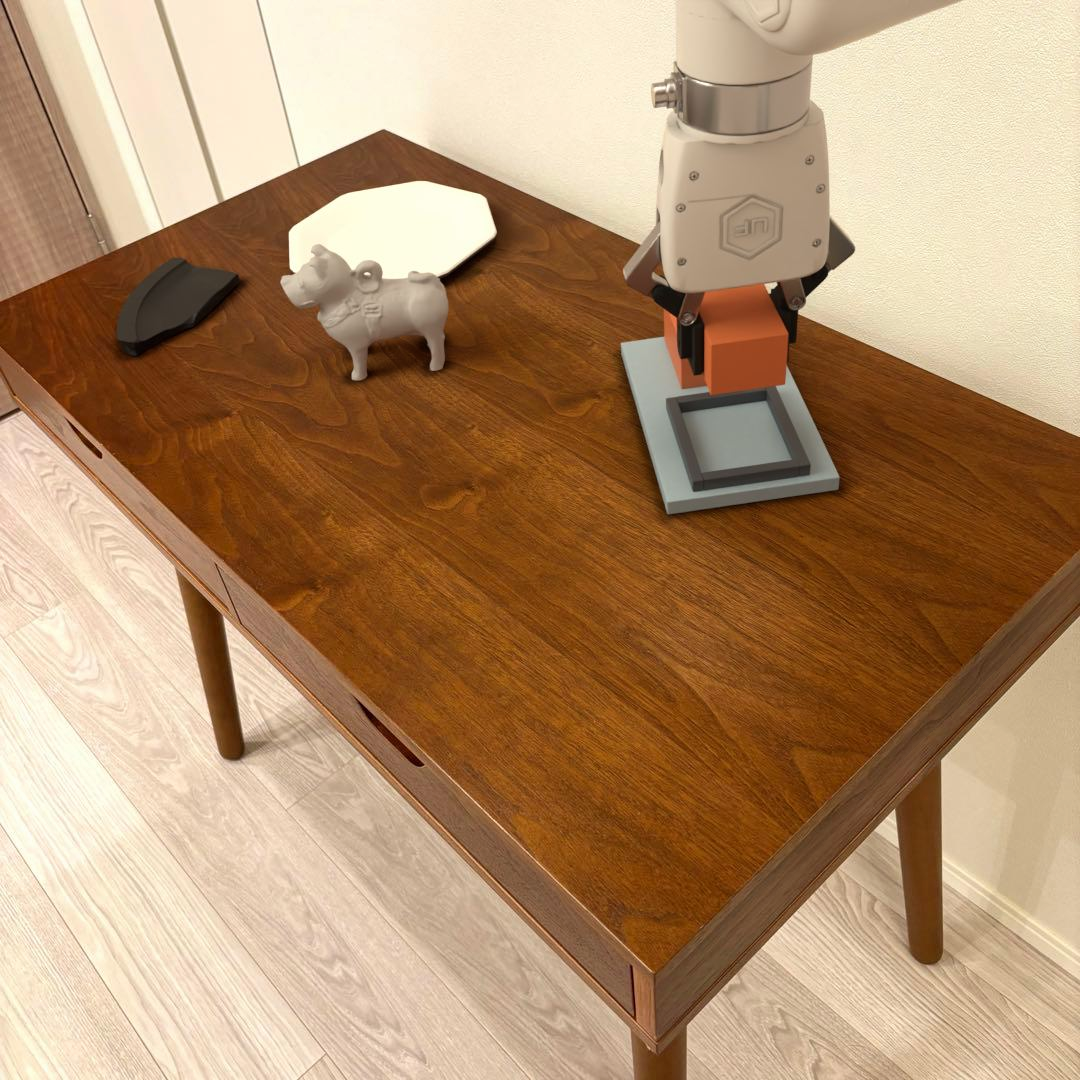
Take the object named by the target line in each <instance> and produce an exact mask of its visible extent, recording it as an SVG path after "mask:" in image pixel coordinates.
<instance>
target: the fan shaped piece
mask: <svg viewBox="0 0 1080 1080" xmlns="http://www.w3.org/2000/svg"><path fill="white" fill-rule="evenodd" d="M240 281H241V279H240V277H239V274H238V273H237V272H235V271H234V272H233V271H230V270H224V269H220V268H211V267H202V266H195V265H193V264H191V262H189V261H188V260H187V259H186V258H184V257H171V258H170V259H168V260H167V261H165V262H163V264H162V263H161V265H159V266H158V267H156V268H155V269H154V270H153V271H152V272H150V273H149V274H148V275H146V276H145V278H143V280H141V281H140V282H139V283H138V284H137V286H135V288H133V290H132V291H131V292H130V294H129V296H128V297H127V298H126V300H125V301H124V303H123V305H122V308H121V310H120V312H119V315H118V319H117V321H116V322H117V323H116V340H117V341H118V343H119V344H120V346H121V349H122V352H123V353H125V354H126V355H129V356H132V357H138V356H139V355H141V354H142V353H144V352H145V351H147V350H149V349H151V348H152V347H154V346H156V344H158V343H160V342H162V341H164V340H166V339H168V338H170V337H173V336H175V335H177V334H179V333H181V332H184V331H186V330H189V329H191V328H193V327H195V326H196V325H197V324H198V323H199V322H201V321H202V320H203V319H204V318H205V317H206V316H207V315H208V314H209V313H210V312H211V311H212V310H214V309H215V307H216V306H217V305H218V304H219V303H221V302H222V300H223V299H224V298H225V297H226V296H227V295H228V294H229V293H230V292H231V291H232V290H233V289H234V288H235V287H236V286H237V285H239V284H240Z"/></svg>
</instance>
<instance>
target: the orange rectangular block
mask: <svg viewBox="0 0 1080 1080" xmlns="http://www.w3.org/2000/svg"><path fill="white" fill-rule="evenodd" d="M769 294H770V292H769V291H768V289H767V286H766V284H760V285H753V286H746V287H739V288H732V289H725V290H717V291H709V292H705V294H704V297H703V300H702V304H701V307H700V310H699V312H700V315H701V318H702V320H703V323H704V326H705V327H704V372H703V376H704V379H705V381H706V384H707V387H708V389H709V392H710V395H716V394H723V393H730V392H737V391H744V390H751V389H758V388H765V387H772V386H779V385H785V382H786V366H787V367H788V365H787V363H788V362H787V350H788V332H787V330H786V328H785V326H784V324H783V322H782V320H781V318H780V316H779V314H778V312H777V310H776V308H775V306H774V304H773V302H772V300H771V298H770V296H769Z"/></svg>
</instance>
